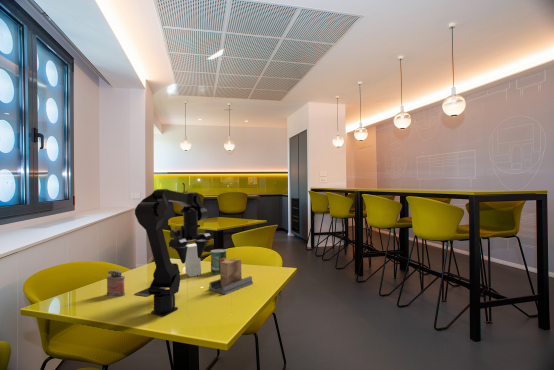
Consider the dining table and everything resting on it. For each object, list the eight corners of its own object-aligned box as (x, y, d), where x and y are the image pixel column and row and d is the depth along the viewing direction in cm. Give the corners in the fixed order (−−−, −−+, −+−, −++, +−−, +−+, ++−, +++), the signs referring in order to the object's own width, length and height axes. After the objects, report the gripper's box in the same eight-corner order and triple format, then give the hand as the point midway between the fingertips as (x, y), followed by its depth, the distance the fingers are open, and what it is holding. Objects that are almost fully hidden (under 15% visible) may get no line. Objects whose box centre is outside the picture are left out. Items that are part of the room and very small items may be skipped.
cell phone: (133, 295, 116) (133, 294, 116) (158, 284, 129) (158, 283, 129) (147, 297, 114) (147, 295, 114) (171, 286, 127) (171, 284, 127)
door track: (225, 294, 114) (224, 287, 114) (208, 289, 120) (208, 282, 120) (252, 283, 126) (252, 276, 126) (236, 279, 133) (236, 273, 133)
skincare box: (201, 275, 141) (200, 245, 141) (189, 277, 138) (188, 246, 138) (196, 271, 148) (195, 242, 148) (184, 273, 145) (183, 244, 145)
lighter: (127, 294, 117) (126, 269, 118) (120, 297, 114) (120, 272, 114) (111, 292, 120) (110, 268, 120) (104, 295, 116) (104, 271, 116)
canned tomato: (211, 270, 149) (210, 249, 149) (226, 269, 150) (226, 248, 151) (210, 274, 141) (210, 252, 141) (226, 273, 143) (226, 251, 143)
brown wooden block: (227, 287, 119) (227, 263, 119) (220, 285, 121) (220, 262, 122) (241, 282, 125) (241, 259, 125) (234, 280, 128) (234, 258, 128)
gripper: (191, 219, 129) (192, 254, 129) (158, 225, 113) (159, 264, 113) (211, 220, 125) (212, 256, 124) (179, 225, 108) (180, 267, 108)
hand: (191, 260), depth 117 cm, fingers open, 9 cm apart
